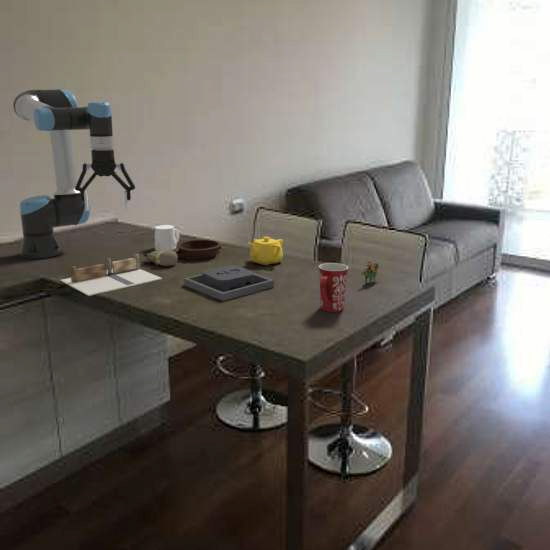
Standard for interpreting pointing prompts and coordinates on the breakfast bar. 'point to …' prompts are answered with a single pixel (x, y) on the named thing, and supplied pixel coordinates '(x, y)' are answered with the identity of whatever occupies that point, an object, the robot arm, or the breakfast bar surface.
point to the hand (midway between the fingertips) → (107, 210)
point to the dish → (198, 249)
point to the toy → (162, 257)
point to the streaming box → (228, 278)
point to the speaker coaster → (261, 285)
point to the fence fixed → (123, 265)
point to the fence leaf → (87, 272)
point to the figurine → (370, 272)
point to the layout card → (112, 281)
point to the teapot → (266, 250)
